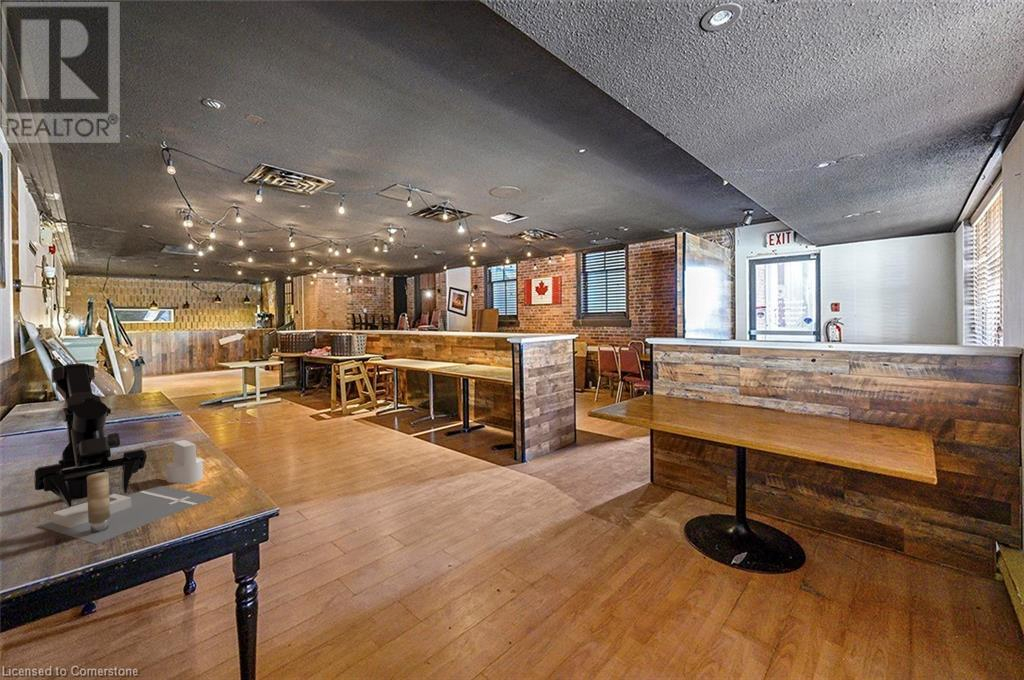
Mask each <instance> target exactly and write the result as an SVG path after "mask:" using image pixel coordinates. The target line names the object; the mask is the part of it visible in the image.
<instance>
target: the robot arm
mask: <svg viewBox="0 0 1024 680" xmlns="http://www.w3.org/2000/svg"><path fill="white" fill-rule="evenodd" d="M50 375H51V383H52V384H55V390H56V391H57V392H58V393H59V394H60V395H62V396H63V397H64V405H65V406H64V407H63V408H62V421H63V423H66V430H67V441H68V444H67V445H66V447H65V448H64V449H63V451H62V454H61V459H59V460H58V463H55V464H54V463H53V464H50V465H44V466H43V465H42V466H38V467H36V469H35V470H34V477H33V479H34V480H33V482H34V491H42V490H43V492H51V493H53V494H54V495H56V496H57V497H59V498H60V500H61V501H62V502H63V503H64V504H65V505H66V506H67V508H70V507H72V499H84V498H88V496H87V476H89V475H92V474H96V473H102V472H106V470H109V469H110V470H111V469H114V468H118V467H119V468H120V467H121V468H122V473H121V477H122V479H121V480H122V490H123V491H122V492H123V494H127V492H128V488H129V483H130V480H131V478H132V475H133V474H135V473H137V472H139V471H140V470H141V469H144V467H145V464H146V461H147V457H148V456H147V451H146V450H144V449H143V448H139V449H134V450H128V451H127V450H126V451H124V452H123V457H121V458H116V459H115V458H114V459H110V458H111V455H112V453H111V452H112V451H111V449H114V448H115V449H116V448H119V446H120V445H121V439H120V434H119V432H116V433H109V434H108V435H107V436H105V430H104V428H105V426H106V424H107V423H106V421H107V417H109V414H112V410H111V408H109V407H108V405H107V404H105V403H104V402H102V399H101V396H99V395H97V394H95V393H93V390H92V385H91V384H92V381H94V380H95V377H96V376H95V375H96V372H95V366H93V365H89V363H84V362H83V363H66V364H63V365H62V366H57V367H54V368H52V370H51V373H50Z"/></svg>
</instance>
